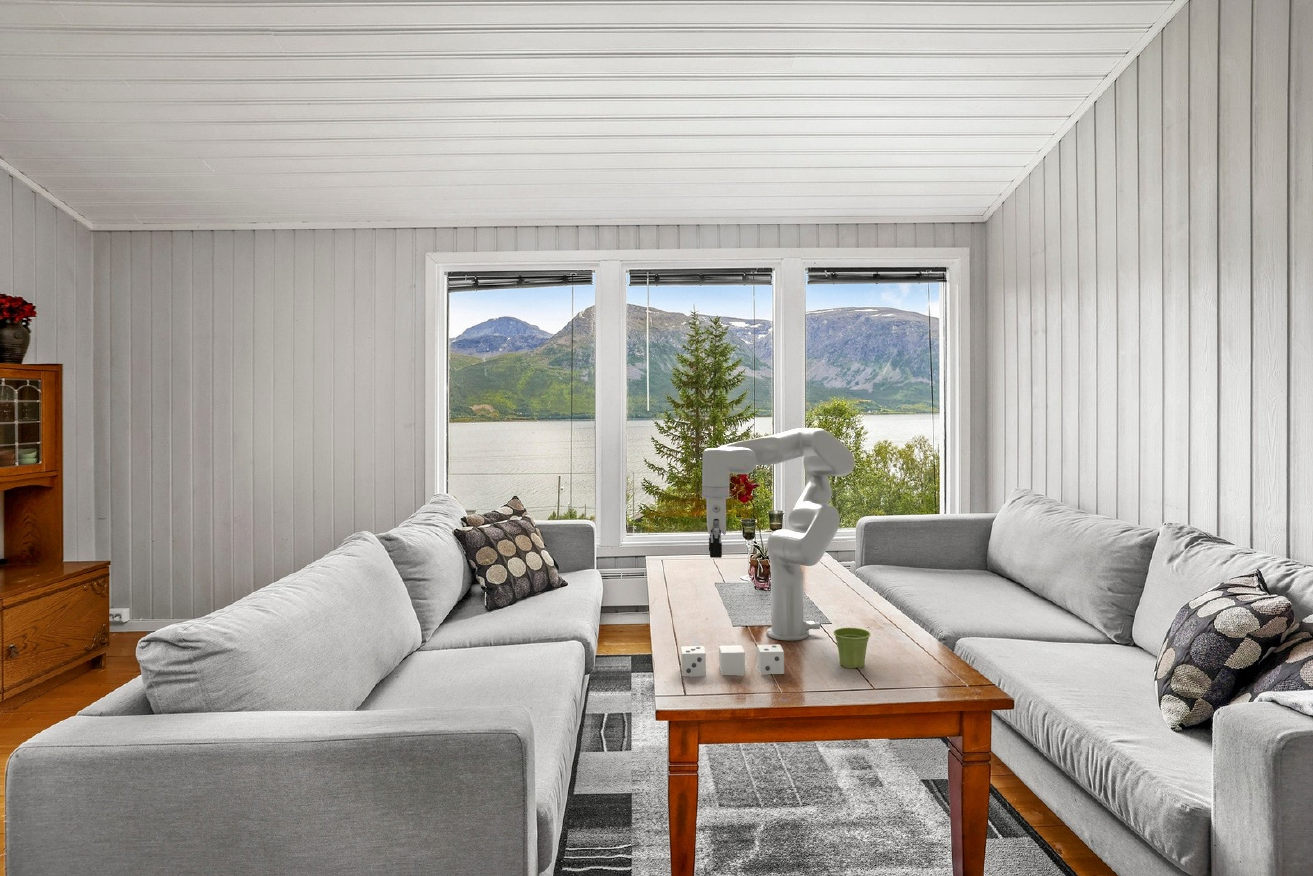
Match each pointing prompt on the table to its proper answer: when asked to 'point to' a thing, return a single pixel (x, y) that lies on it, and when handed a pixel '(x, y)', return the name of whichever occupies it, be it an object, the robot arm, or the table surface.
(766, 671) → the two dot block
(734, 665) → the plain block
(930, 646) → the table surface
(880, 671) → the table surface
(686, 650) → the three dot block
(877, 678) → the table surface
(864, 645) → the plant pot
